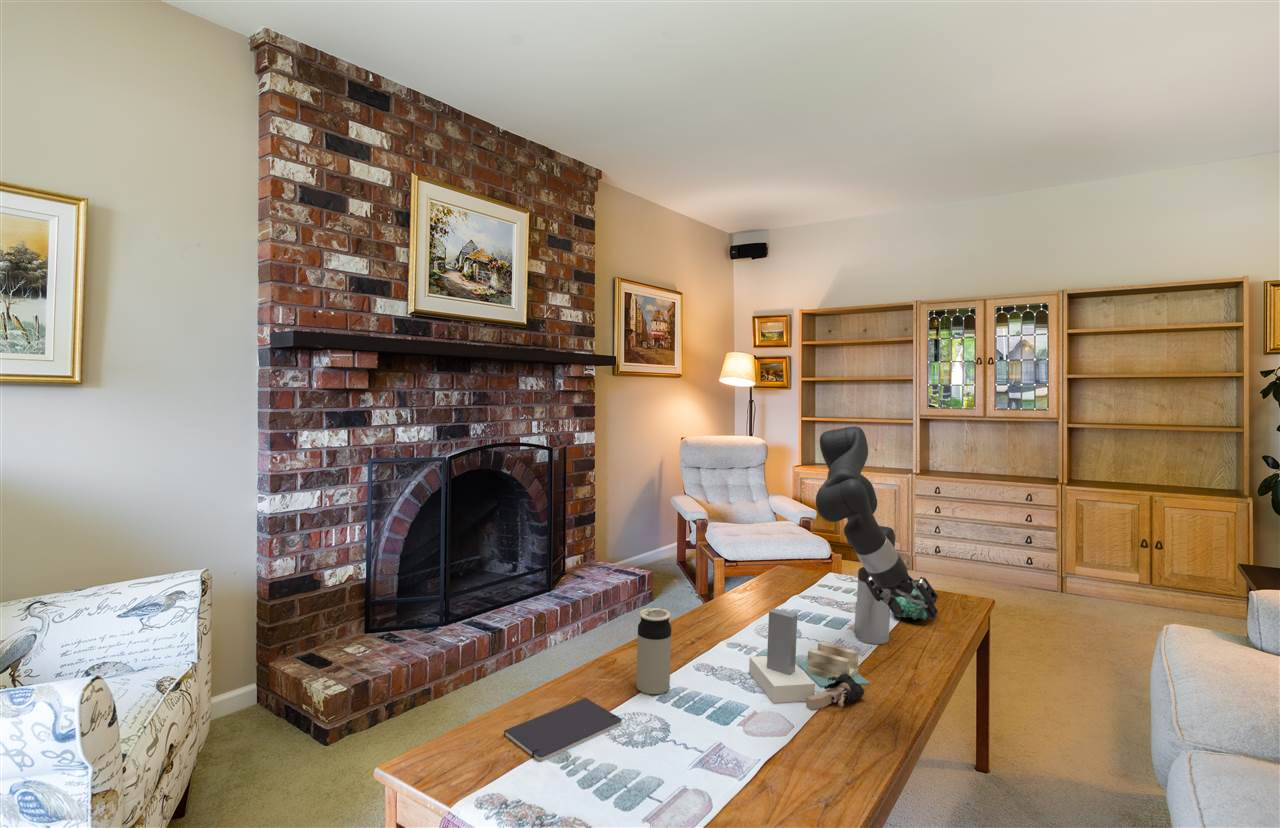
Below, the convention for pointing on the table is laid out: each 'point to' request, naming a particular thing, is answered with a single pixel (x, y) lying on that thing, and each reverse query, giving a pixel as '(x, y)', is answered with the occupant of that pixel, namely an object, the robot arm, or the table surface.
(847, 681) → the toy figure
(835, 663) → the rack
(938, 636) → the table surface
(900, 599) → the mineral
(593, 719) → the notebook
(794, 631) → the grey rectangular block
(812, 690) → the cream flat block
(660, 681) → the travel mug
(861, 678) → the mat
